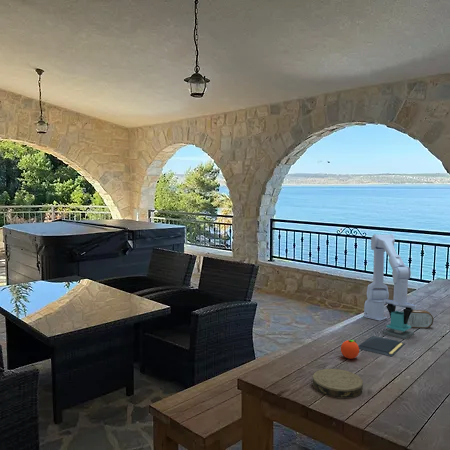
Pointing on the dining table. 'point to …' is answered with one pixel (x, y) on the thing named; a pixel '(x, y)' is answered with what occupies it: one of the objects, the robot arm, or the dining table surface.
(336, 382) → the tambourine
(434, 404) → the dining table surface
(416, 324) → the tin
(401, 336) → the post block
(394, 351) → the wallet
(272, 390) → the dining table surface
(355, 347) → the clementine
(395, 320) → the flange
